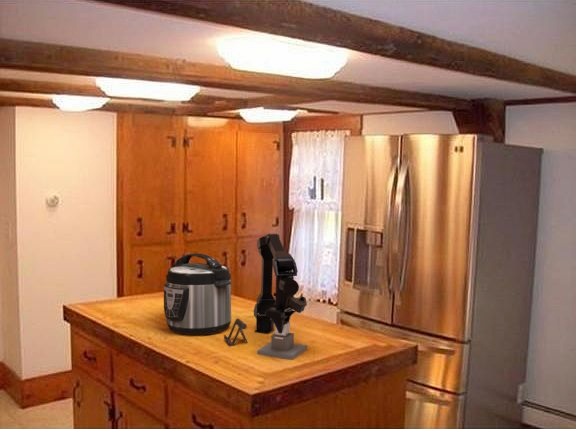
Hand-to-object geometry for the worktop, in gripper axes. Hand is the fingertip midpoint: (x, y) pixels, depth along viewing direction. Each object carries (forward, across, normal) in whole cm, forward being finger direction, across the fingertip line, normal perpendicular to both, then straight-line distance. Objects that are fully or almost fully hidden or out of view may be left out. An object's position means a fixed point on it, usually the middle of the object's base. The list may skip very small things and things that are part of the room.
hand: (282, 331), depth 217 cm
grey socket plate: (+8, 0, 0) cm, 8 cm away
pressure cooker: (+8, +13, +45) cm, 47 cm away
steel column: (+6, 0, 0) cm, 6 cm away
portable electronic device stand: (+8, +3, +21) cm, 23 cm away
